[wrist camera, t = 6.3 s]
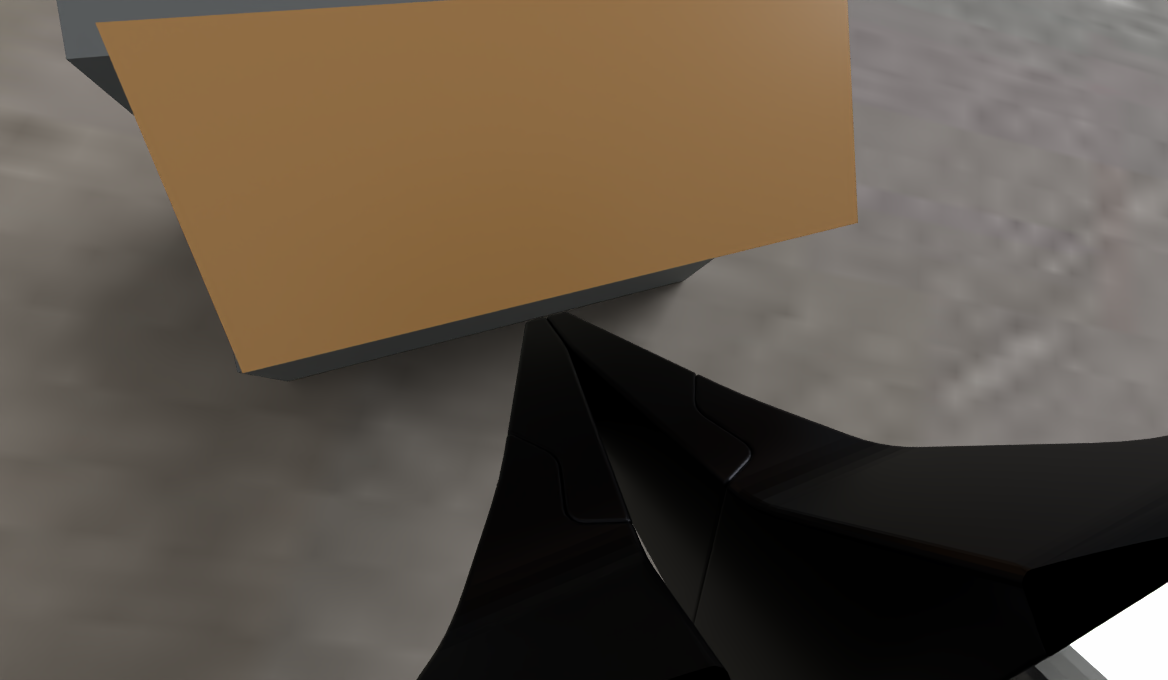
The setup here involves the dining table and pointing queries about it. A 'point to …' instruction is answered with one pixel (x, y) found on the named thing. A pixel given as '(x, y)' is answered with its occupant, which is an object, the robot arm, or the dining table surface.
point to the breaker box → (92, 3)
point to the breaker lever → (481, 151)
